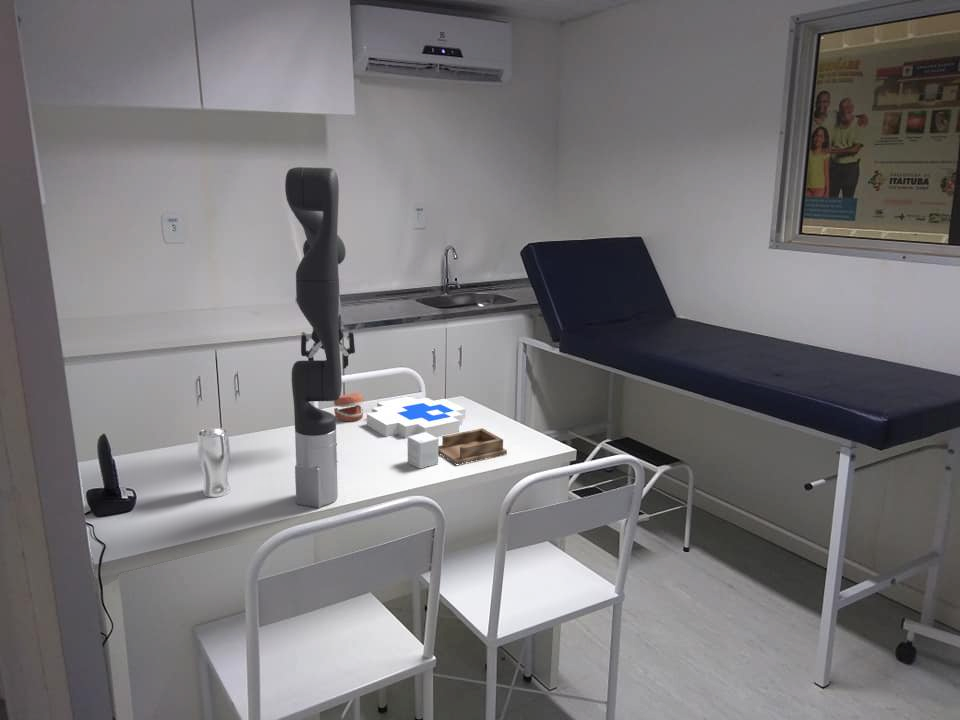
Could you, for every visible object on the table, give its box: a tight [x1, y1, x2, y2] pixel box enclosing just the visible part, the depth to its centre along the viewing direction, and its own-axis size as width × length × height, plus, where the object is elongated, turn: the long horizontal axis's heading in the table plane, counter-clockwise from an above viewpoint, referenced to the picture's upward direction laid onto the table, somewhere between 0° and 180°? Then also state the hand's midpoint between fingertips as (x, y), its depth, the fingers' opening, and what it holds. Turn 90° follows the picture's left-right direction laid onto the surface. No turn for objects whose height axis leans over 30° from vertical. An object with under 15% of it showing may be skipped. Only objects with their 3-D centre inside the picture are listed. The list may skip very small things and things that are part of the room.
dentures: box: [333, 392, 364, 422], centre depth 225 cm, size 9×7×8 cm
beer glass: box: [197, 427, 231, 498], centre depth 171 cm, size 7×7×15 cm
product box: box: [407, 432, 439, 470], centre depth 193 cm, size 6×6×7 cm
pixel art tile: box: [366, 396, 466, 439], centre depth 224 cm, size 28×4×28 cm
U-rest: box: [438, 428, 508, 465], centre depth 201 cm, size 16×12×4 cm
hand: (328, 368), depth 200 cm, fingers open, 8 cm apart
